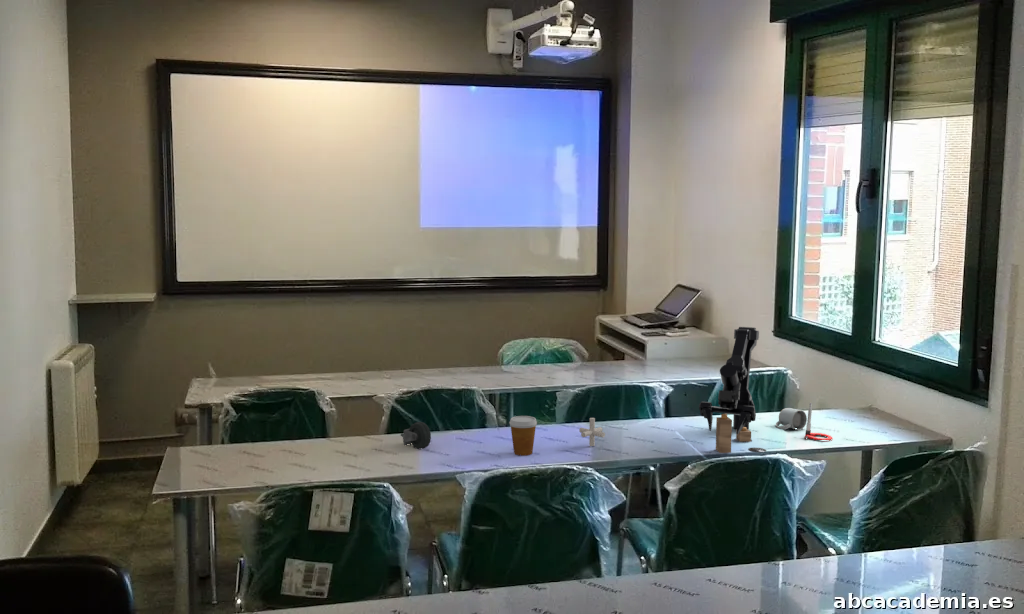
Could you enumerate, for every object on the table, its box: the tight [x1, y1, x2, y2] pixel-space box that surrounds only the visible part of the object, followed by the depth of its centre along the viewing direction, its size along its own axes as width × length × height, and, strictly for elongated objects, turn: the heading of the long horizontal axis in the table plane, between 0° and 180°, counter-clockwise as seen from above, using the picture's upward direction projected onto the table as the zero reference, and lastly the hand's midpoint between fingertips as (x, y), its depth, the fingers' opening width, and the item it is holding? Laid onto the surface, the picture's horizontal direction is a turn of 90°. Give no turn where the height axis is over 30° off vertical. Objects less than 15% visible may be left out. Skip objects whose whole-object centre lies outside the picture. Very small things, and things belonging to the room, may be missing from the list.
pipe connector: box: [579, 417, 606, 447], centre depth 310 cm, size 10×10×10 cm
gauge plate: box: [734, 438, 767, 453], centre depth 309 cm, size 21×11×1 cm, turn 6°
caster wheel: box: [400, 421, 432, 449], centre depth 310 cm, size 6×10×15 cm
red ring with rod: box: [804, 402, 833, 441], centre depth 320 cm, size 8×13×9 cm
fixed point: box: [735, 427, 752, 443], centre depth 315 cm, size 4×4×4 cm
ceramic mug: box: [775, 407, 808, 431], centre depth 335 cm, size 11×8×8 cm
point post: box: [715, 413, 733, 454], centre depth 301 cm, size 4×4×14 cm
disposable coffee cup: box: [508, 415, 538, 456], centre depth 301 cm, size 10×10×12 cm
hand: (723, 431), depth 300 cm, fingers open, 9 cm apart
